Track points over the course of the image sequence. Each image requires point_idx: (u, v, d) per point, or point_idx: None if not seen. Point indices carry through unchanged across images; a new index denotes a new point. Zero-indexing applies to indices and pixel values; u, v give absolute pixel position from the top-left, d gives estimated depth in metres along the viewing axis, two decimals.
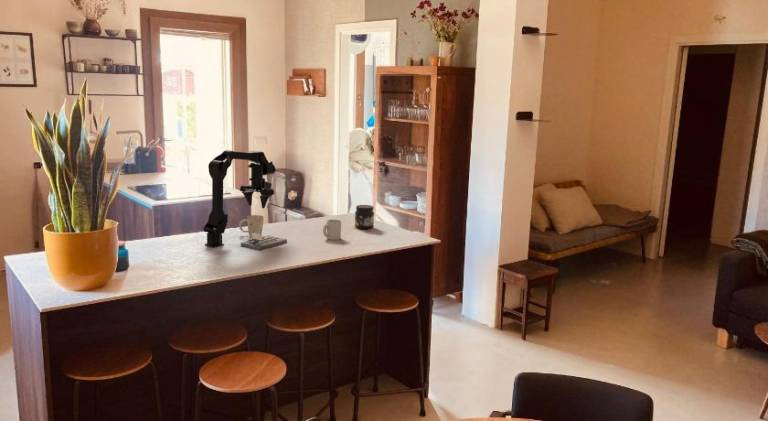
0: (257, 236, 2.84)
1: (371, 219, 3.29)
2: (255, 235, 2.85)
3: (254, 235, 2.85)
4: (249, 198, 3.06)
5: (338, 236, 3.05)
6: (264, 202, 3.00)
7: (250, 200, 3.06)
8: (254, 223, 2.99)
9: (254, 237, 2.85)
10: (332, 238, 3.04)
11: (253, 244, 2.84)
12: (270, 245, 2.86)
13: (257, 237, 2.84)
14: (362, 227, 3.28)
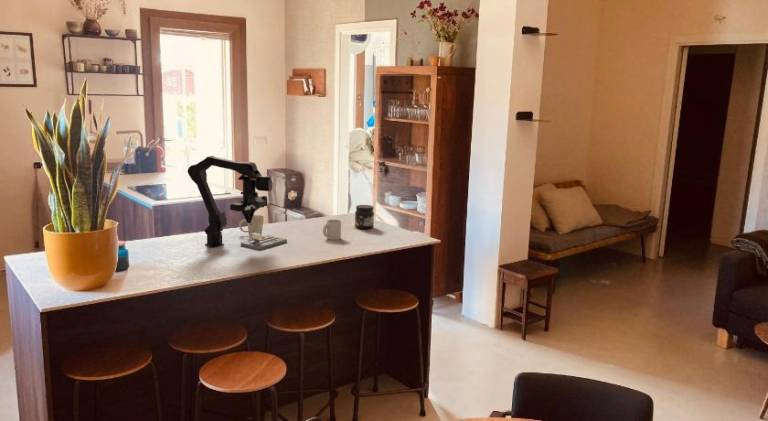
0: (257, 236, 2.84)
1: (371, 219, 3.29)
2: (255, 235, 2.85)
3: (254, 235, 2.85)
4: None
5: (338, 236, 3.05)
6: (246, 216, 2.78)
7: None
8: (254, 223, 2.99)
9: (254, 237, 2.85)
10: (332, 238, 3.04)
11: (253, 244, 2.84)
12: (270, 245, 2.86)
13: (257, 237, 2.84)
14: (362, 227, 3.28)
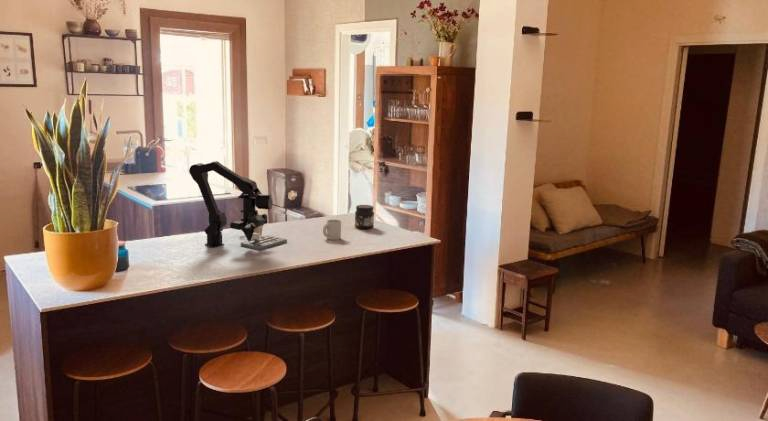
0: (257, 236, 2.84)
1: (371, 219, 3.29)
2: (255, 235, 2.85)
3: (254, 235, 2.85)
4: None
5: (338, 236, 3.05)
6: (246, 234, 2.80)
7: None
8: None
9: (254, 237, 2.85)
10: (332, 238, 3.04)
11: (253, 244, 2.84)
12: (270, 245, 2.86)
13: (257, 237, 2.84)
14: (362, 227, 3.28)
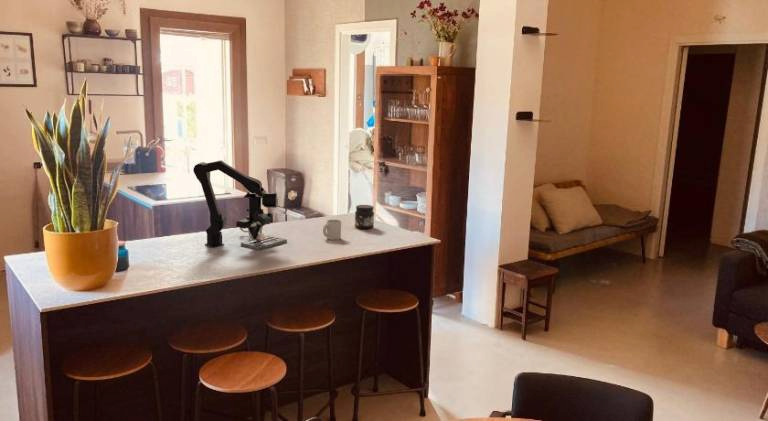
0: (259, 236, 2.85)
1: (371, 219, 3.29)
2: None
3: None
4: None
5: (338, 236, 3.05)
6: (252, 233, 2.83)
7: None
8: None
9: None
10: (332, 238, 3.04)
11: (253, 244, 2.84)
12: (270, 245, 2.86)
13: (259, 237, 2.85)
14: (362, 227, 3.28)
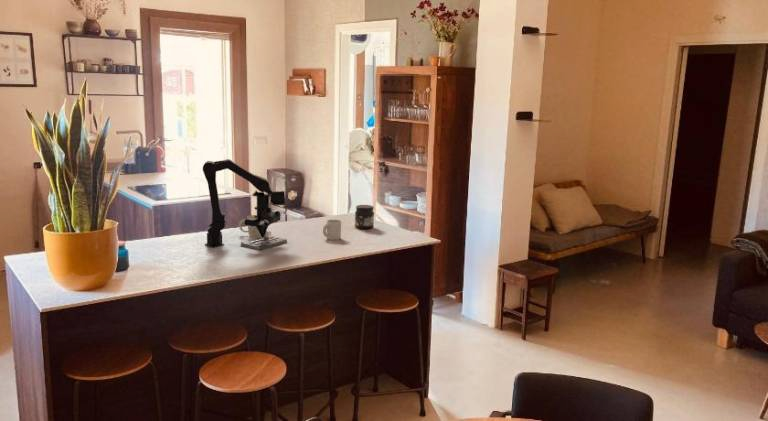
0: (267, 234, 2.89)
1: (371, 219, 3.29)
2: (265, 233, 2.90)
3: None
4: None
5: (338, 236, 3.05)
6: (260, 231, 2.88)
7: None
8: None
9: None
10: (332, 238, 3.04)
11: (253, 244, 2.84)
12: (270, 245, 2.86)
13: (267, 234, 2.90)
14: (362, 227, 3.28)
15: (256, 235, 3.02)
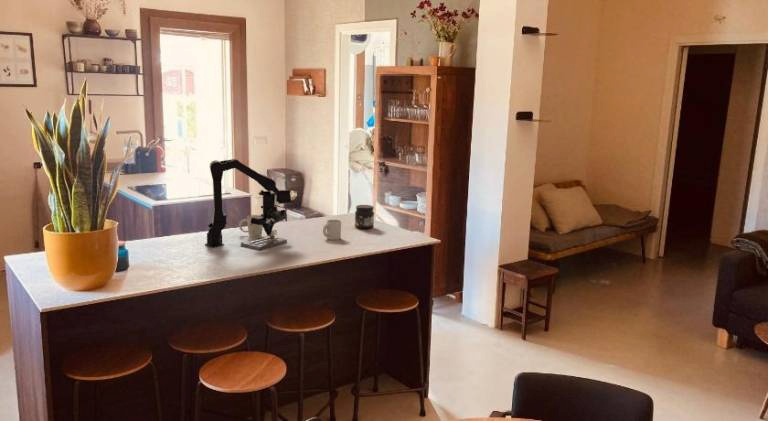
0: (272, 232, 2.93)
1: (371, 219, 3.29)
2: None
3: None
4: None
5: (338, 236, 3.05)
6: (266, 229, 2.91)
7: None
8: None
9: None
10: (332, 238, 3.04)
11: (253, 244, 2.84)
12: (270, 245, 2.86)
13: (272, 233, 2.93)
14: (362, 227, 3.28)
15: (256, 235, 3.02)
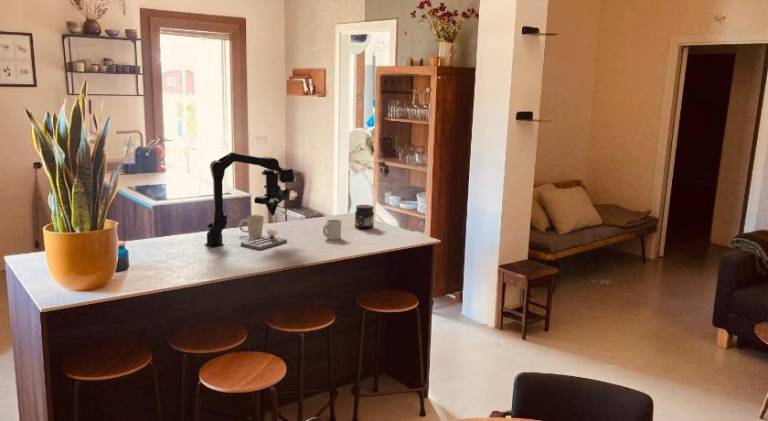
0: (272, 232, 2.93)
1: (371, 219, 3.29)
2: (270, 231, 2.93)
3: (269, 231, 2.94)
4: None
5: (338, 236, 3.05)
6: (270, 209, 2.92)
7: None
8: (254, 223, 2.99)
9: (269, 233, 2.94)
10: (332, 238, 3.04)
11: (253, 244, 2.84)
12: (270, 245, 2.86)
13: (272, 233, 2.93)
14: (362, 227, 3.28)
15: (256, 235, 3.02)
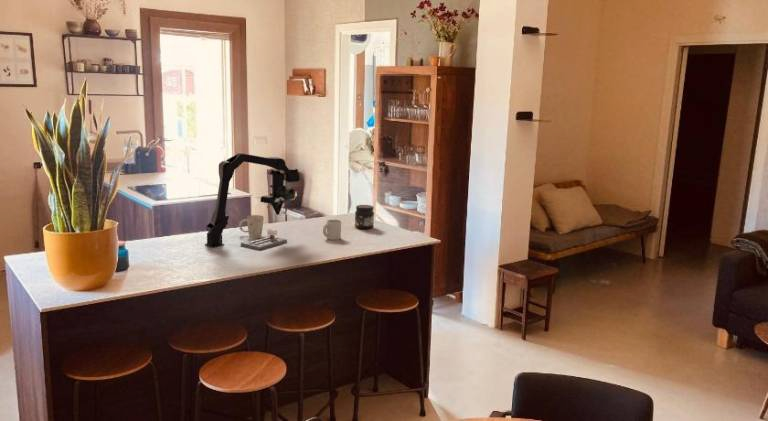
0: (272, 232, 2.93)
1: (371, 219, 3.29)
2: (270, 231, 2.93)
3: (269, 231, 2.94)
4: None
5: (338, 236, 3.05)
6: (275, 208, 2.97)
7: None
8: (254, 223, 2.99)
9: (269, 233, 2.94)
10: (332, 238, 3.04)
11: (253, 244, 2.84)
12: (270, 245, 2.86)
13: (272, 233, 2.93)
14: (362, 227, 3.28)
15: (256, 235, 3.02)
